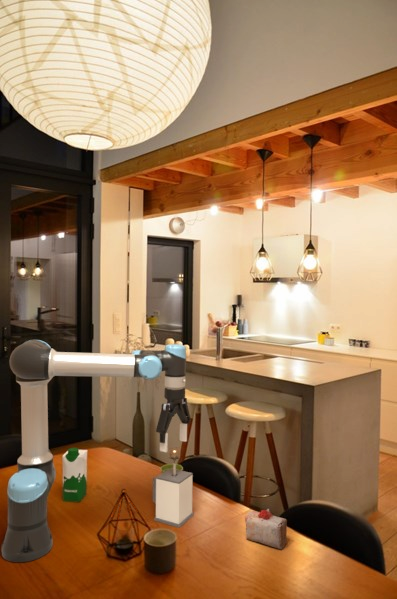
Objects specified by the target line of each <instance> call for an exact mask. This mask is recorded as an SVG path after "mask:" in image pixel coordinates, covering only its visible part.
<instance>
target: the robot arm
mask: <svg viewBox="0 0 397 599" xmlns="http://www.w3.org/2000/svg"><path fill="white" fill-rule="evenodd" d="M51 347H52V346H50V345H49V344H48V342H45V341H43V340H40V339H30V340H26V341H25V342H23V343H22V344H20V345H18V346H16V347H15V348H14V350H12V352H11V354H10V355H9V356H10V357H9V367H10V370H11V371H12V373H13V374H14V375H15V381H16V383H18V384H19V385H20V402H21V403H20V404H21V406H20V409H21V413H20V414H21V455H20V456H19V457H18V458H17V462H16V463H17V472H15V473H14V474H13V475H11V476H10V478H9V480H8V483H7V484H8V485H7V489H6V490H7V527H6V528H7V529H6V532H5V536H4V539H3V541H2V544H1V556H2V558H3V559H4V560H6V561H8V562H11V563H26V562H31V561H35V560H38V559H39V558H40V559H41V558H42V557H44V556H46V554H48V553H50V551H51V550H52V549H53V545H54V544H53V540H54V539H53V535H52V532H51V529H50V527H49V524H48V497H49V494H50V492H51V489H52V487H53V484H54V483H55V480H56V469H55V468H56V467H55V465H54V455H53V454H52V453H51V452H50V451H49V419H48V418H49V415H48V414H49V412H48V410H49V408H48V404H49V403H48V384H49V382H50V381H51V380H52V379H53V377H55V376H56V377H57V376H58V377H101V378H102V377H104V378H107V377H108V378H109V377H110V378H111V377H112V378H116V377H117V378H123V377H124V378H138V379H139V378H140V379H141V378H143V379H146V380H148V381H152V380H156V379H157V378H159V377H160V375H161V373H162V372H164V394H163V395H164V396H163V397H164V399H165V400H166V403H162V404H161V410H160V414H159V418H158V422H157V426H156V428H155V432H156V433H158V434H159V452H163V453H168V449H169V448H168V444H169V443H168V442H169V441H168V440H169V438H168V437H169V433H168V429H169V427H170V424H171V422H172V419H173V417H174V416H175V415H176V414H177V416H178V418H179V420H180V423H179V441H180V442H183V443H184V442H185V443H186V442H188V424H190V423H191V414H190V410H189V407H188V406H189V405H188V399H187V397H186V388H185V387H186V381H187V379H186V372H187V369H186V368H187V366H186V365H187V351H186V350H187V348H186V346H185V345H183V344H176V343H175V344H173V343H172V344H170V343H169V344H167V345H165V348H164V349H163V350H162V349H161V350H159V349H158V350H154V349H153V350H151V349H150V350H146V349H140V350H139V349H138V350H133V351H132V352H131V354H129V353H106V352H105V353H103V352H101V353H100V352H98V353H97V352H72V351H71V352H69V351H67V352H65V351H57V350H56V349H54V348H51Z"/></svg>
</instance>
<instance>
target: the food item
mask: <svg viewBox="0 0 397 599" xmlns="http://www.w3.org/2000/svg"><path fill="white" fill-rule="evenodd" d="M244 522H245V539H246V540H248V541H251V542H256V543H259V544H262V545H265V546H269V547H272V548H275V549H279V550H282V549H284V547H285V546H286V544H287V538H288V537H287V533H288V532H287V531H288V530H287V528H288V527H287V525H288V524H287V522H288V520H287V519H286V518H283V517H280V516H276V515H273V514H272V512H271V511H270V508H267V509H266V510H265V509H262V510H260V511H255V510H250V511H248V512H247V514H246V515H245V516H244Z"/></svg>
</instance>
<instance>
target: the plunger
mask: <svg viewBox="0 0 397 599" xmlns="http://www.w3.org/2000/svg"><path fill="white" fill-rule="evenodd" d="M168 458H169V459H170V460H172V461H173V462H172V464H173V476H176V464H177V460H178V459H181V448H180V447H170V448H168Z"/></svg>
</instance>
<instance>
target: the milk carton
mask: <svg viewBox="0 0 397 599" xmlns="http://www.w3.org/2000/svg"><path fill="white" fill-rule="evenodd" d="M61 456H62V460H61V461H62V501H63V502H73V503H74V502H75V503H80V502H82V500H83V499H84V498H85V496H86V495H87V486H88V485H87V484H88V482H87V481H88V480H87V479H88V477H87V476H88V472H87V470H88V463H87V462H88V449H79V448H78V447H70V448H68V449H67V451H66V452H65V453H64V454H63V455H61Z"/></svg>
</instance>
